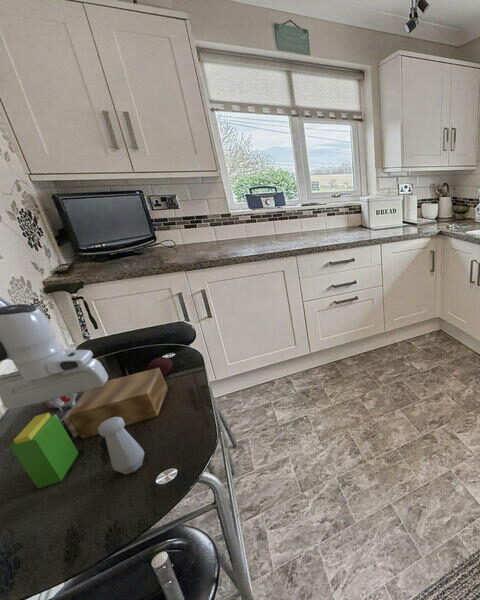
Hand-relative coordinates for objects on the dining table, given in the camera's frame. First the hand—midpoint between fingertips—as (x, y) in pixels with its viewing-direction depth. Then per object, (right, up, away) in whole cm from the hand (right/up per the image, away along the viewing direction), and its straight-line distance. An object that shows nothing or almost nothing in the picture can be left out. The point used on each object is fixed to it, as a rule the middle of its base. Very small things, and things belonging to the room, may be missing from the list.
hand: (69, 408), depth 88 cm
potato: (+8, +3, +24) cm, 25 cm away
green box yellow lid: (+10, -10, -12) cm, 19 cm away
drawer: (+7, -3, +4) cm, 9 cm away
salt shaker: (+28, -9, -14) cm, 32 cm away
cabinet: (+11, -3, +6) cm, 13 cm away
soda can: (-15, -3, +13) cm, 20 cm away
